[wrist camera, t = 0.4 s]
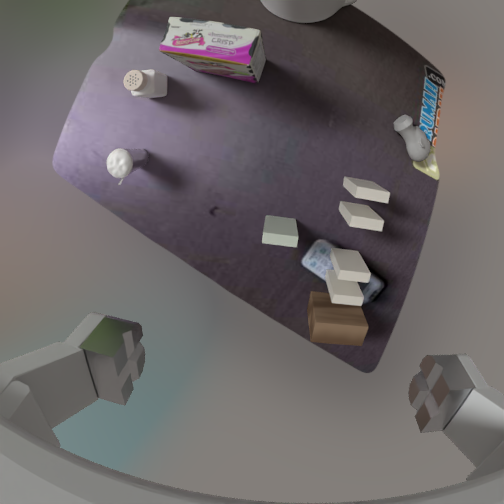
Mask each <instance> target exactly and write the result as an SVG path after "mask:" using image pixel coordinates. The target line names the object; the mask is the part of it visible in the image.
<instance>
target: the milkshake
mask: <svg viewBox="0 0 504 504" xmlns="http://www.w3.org/2000/svg"><path fill="white" fill-rule="evenodd" d="M148 160H149V155H148V152H147V151H146V150H144V149H116V150H114V151H112V152H111V153H110V155H109V156H108V158H107V169H108V171H109V173H110V174H111V175H113V176H114V177H116V178H122V179H121V180H120V182H119V184H118V185H120V184H121V182H122V181H123V179H124V177H125V176H127V175H129V174H130V173H132V172H134V171H136V170H137V169H139V168H141V167H143V166H144V165H146V164H147V163H148Z"/></svg>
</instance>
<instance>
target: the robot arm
mask: <svg viewBox="0 0 504 504" xmlns="http://www.w3.org/2000/svg"><path fill="white" fill-rule="evenodd" d="M260 1H261V2H262V4H263V5H264V6H265V7H266V8H267V9H268V10H269V11H270V12H272V13H273V14H275V15H276V16H278V17H280V18H283V19H285V20H289V21H293V22H299V23H312V22H318V21H321V20H324V19H327V18H329V17H330V16H332V15H333V14H335V13H336V12H337V11H338V10H339V9H340V8H341V7H343V6H347V5H350V4H353V3H355V2H356V0H260ZM142 336H143V333H142V326H141V325H140V324H139V323H137V322H132V321H128V320H124V319H120V318H116V317H112V316H107V315H104V314H100V313H96V312H92V313H89V315H88V316H87V317H86V318H85V319H84V320H83V321H82V322H81V323H80V324H79V326H78V327H77V328H76V329H75V330H74V331H73V332H72V333H71V335H70V336H69V337H68V338H67V339H66V340H65V341H64V343H62V342H57V343H54V344H51V345H49V346H46V347H43V348H40V349H38V350H35V351H32V352H30V353H27V354H24V355H21V356H19V357H16V358H14V359H11V360H8V361H5V362H3V363H0V504H504V394H502V393H501V392H499V391H498V390H496V389H495V388H493V387H492V386H491V387H488V385H487V383H486V382H485V380H484V378H483V377H482V375H481V374H480V372H479V370H478V369H477V367H476V366H475V364H474V363H473V361H472V359H471V358H470V356H469V355H467V354H453V355H427V356H425V357H424V358H423V360H422V362H421V364H420V369H421V371H420V372H419V373H418V374H416V375H415V376H414V377H413V379H412V381H411V383H410V387H409V393H408V394H409V401H410V403H411V406H412V407H414V408H415V409H416V410H417V413H416V415H415V418H416V421H417V424H418V426H419V429H420V432H421V433H422V432H423V433H424V432H434V431H443V430H444V431H443V433H444V434H445V435H446V436H447V437H448V438H449V439H450V440H451V441H452V442H453V443H454V444H455V445H456V446H457V447H458V448H459V449H460V451H461V452H462V453H463V454H464V455H465V456H466V457H467V458H468V459H469V460H470V461H471V462H472V463H473V464H474V465H475V466H476V469H475V470H474V471H473V472H471V473H470V475H468V477H467V479H466V480H467V481H466V482H462V483H459V484H455V485H452V486H447V487H444V488H440V489H435V490H431V491H426V492H421V493H416V494H411V495H405V496H399V497H392V498H385V499H377V500H368V501H357V502H342V503H279V502H264V501H253V500H244V499H235V498H228V497H221V496H214V495H209V494H203V493H198V492H193V491H188V490H183V489H179V488H175V487H171V486H166V485H162V484H159V483H155V482H151V481H147V480H144V479H141V478H138V477H134V476H131V475H128V474H125V473H122V472H119V471H116V470H113V469H110V468H108V467H105V466H102V465H100V464H97V463H94V462H92V461H89V460H87V459H84V458H82V457H79V456H77V455H75V454H73V453H70V452H68V451H66V450H64V449H62V448H60V443H59V440H58V439H57V437H56V436H55V434H54V432H53V431H52V428H54V427H55V426H57V425H58V424H60V423H62V422H63V421H65V420H66V419H68V418H69V417H71V416H73V415H74V414H76V413H77V412H79V411H80V410H82V409H84V408H85V407H87V406H88V405H90V404H92V403H93V402H95V401H96V400H98V398H101V399H104V400H107V401H111V402H114V403H118V404H122V405H126V403H127V401H128V399H129V397H130V395H131V393H132V391H133V384H132V381H135V380H137V379H139V377H140V375H141V373H142V371H143V367H144V363H145V349H144V347H143V345H142V344H141V343H140V342H139V341H140V339H141V338H142Z"/></svg>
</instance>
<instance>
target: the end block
mask: <svg viewBox="0 0 504 504" xmlns="http://www.w3.org/2000/svg"><path fill="white" fill-rule="evenodd" d="M307 313H308V321H309V330H310V339H311V342H320V343H331V344H344V345H358V346H362V344H363V341H364V338H365V336H366V333H367V330H368V324H367V321H366V319H365V316H364V313H363V311H362V308H361V306H356V305H346V304H336V303H332V302H331V298H330V294H329V293H322V292H313V291H311V294H310V299H309V303H308V308H307Z"/></svg>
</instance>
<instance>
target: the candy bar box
mask: <svg viewBox="0 0 504 504" xmlns="http://www.w3.org/2000/svg"><path fill="white" fill-rule="evenodd" d="M159 51H160V52H162V53H164V54H166V55H168V56H170V57H171V58H173V59H175V60H177V61H179V62H181V63H182V64H184V65H186V66H188V67H189V68H191V69H193V70H194V71H199V72H205V73H210V74H215V75H220V76H225V77H230V78H234V79H239V80H243V81H248V82H252V83H256V84H258V82H259V79H260V76H261V73H262V70H263V67H264V64H265V61H266V56H265V51H264V46H263V41H262V35H261V31H260V30H256V29H252V28H247V27H242V26H237V25H232V24H226V23H220V22H213V21H206V20H198V19H189V18H179V17H170V18H169V21H168V24H167V27H166V31H165V34H164V38H163V40H162V41H161V45H160V48H159Z"/></svg>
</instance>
